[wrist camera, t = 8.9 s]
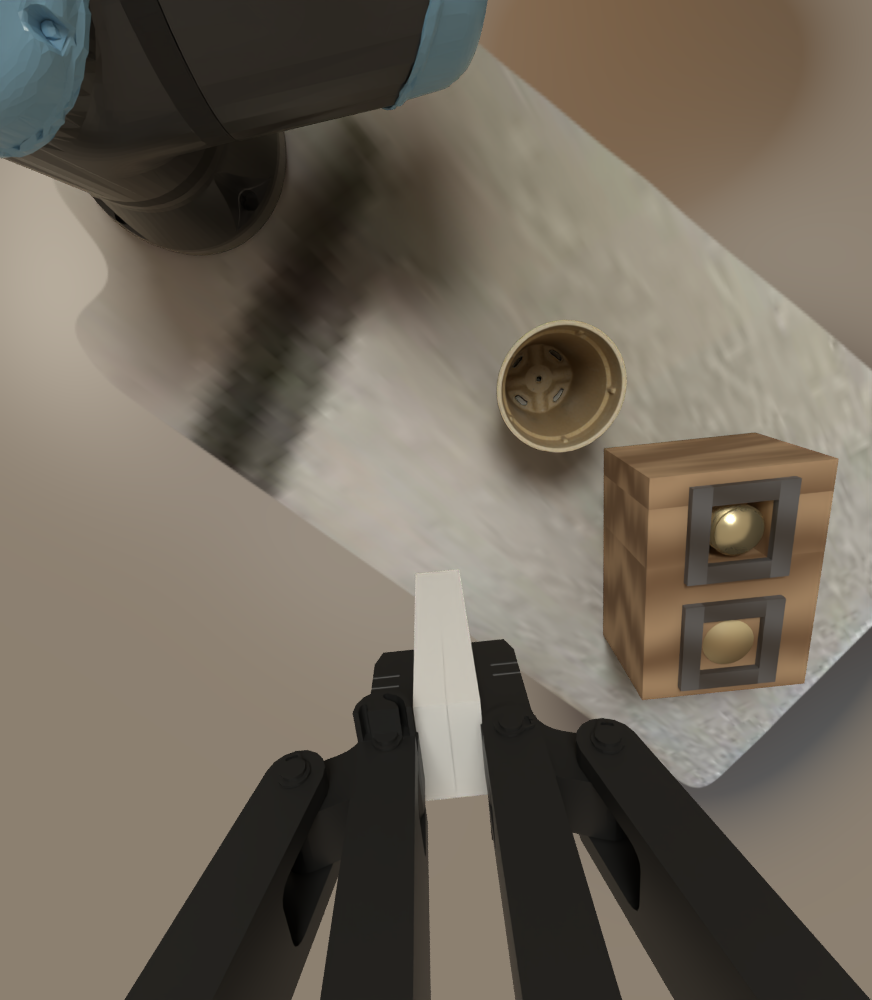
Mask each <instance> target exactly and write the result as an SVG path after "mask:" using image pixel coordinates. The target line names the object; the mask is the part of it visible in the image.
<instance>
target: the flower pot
mask: <svg viewBox="0 0 872 1000" xmlns="http://www.w3.org/2000/svg"><path fill="white" fill-rule="evenodd" d="M550 350H555V351H557V352H558V353H559V354H560V355H561V358H562V359H561V360H559V359H557V358H556V357H555V356H554V355H552V354H551V353H550ZM519 357H522V359H521V360H520V362H519V363H520V364H517V365H516V367H513V365H514V363H515V362H516V361H517V359H518V358H519ZM538 376H540V377H541V381H537V377H538ZM626 380H627V377H626V369H625V365H624V360H623V358H622V356H621V354H620V352H619V350H618V348H617V346H616V345H615V344H614V342H613V341H612V340H611V339H610V338H609V337H608V336H607V335H606V334H604V333H603V332H602V331H600V330H599V329H597V328H595V327H593V326H591V325H589V324H586V323H584V322H579V321H573V320H558V321H552V322H548V323H545V324H543V325H540V326H538V327H536V328H534V329H532V330H531V331H529V332H528V333H526V334H525V335H524V336H522V337H521V338H520V339H519V340H518V341H517V342H516V343H515V344H514V346H513V347H512V348H511V349H510V351H509V352H508V354H507V355H506V357H505V359H504V361H503V363H502V366H501V369H500V372H499V375H498V381H497V401H498V406H499V410H500V413H501V415H502V417H503V420H504V422H505V423H506V425H507V427H508V428H509V429H510V431H511V432H512V433H513V434H514V435H515V436H516V437H517V438H518V439H519V440H521V441H522V442H523V443H525V444H527V445H529V446H530V447H533V448H535V449H538V450H542V451H547V452H558V453H560V452H568V451H573V450H576V449H579V448H581V447H584V446H586V445H588V444H590V443H591V442H593V441H594V440H596V439H597V438H598V437H600V436H601V435H602V434H603V433H604V432H605V431H606V430H607V429H608V428H609V427H610V425H611V424H612V423H613V421H614V420H615V418H616V417H617V415H618V413H619V411H620V409H621V407H622V404H623V401H624V398H625V392H626V385H627V381H626ZM560 389H563V391H562V394H561V395H560V397H559V398H558V400H557V401H553V397H554V396H555V395H557V393H558V392H559V390H560ZM517 395H520V396H521V397H522V398H523V399H524V400H526V401H527V404H526V405H521V404H520V403H519V402H518V400H516V398H515V397H516V396H517Z"/></svg>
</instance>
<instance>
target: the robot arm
mask: <svg viewBox="0 0 872 1000" xmlns="http://www.w3.org/2000/svg"><path fill="white" fill-rule="evenodd" d="M487 1H488V0H0V158H4V159H6V160H9V161H12V162H14V163H16V164H19V165H21V166H24V167H26V168H29V169H31V170H34V171H36V172H39V173H41V174H44V175H46V176H49V177H51V178H54V179H56V180H59V181H61V182H64V183H66V184H69V185H71V186H74V187H76V188H79V189H81V190H84V191H86V192H89V194H90V195H91V196H92V197H93V198H94V199H95V200H96V202H97V203H98V204H99V205H100V206H101V207H102V208H103V210H104V211H105V212H106V213H107V214H108V215H109V216H110V217H111V218H112V219H114V220H115V221H116V222H117V223H118V224H119V225H121V226H122V227H123V228H125V229H126V230H128V231H129V232H131V233H132V234H134V235H135V236H137V237H139V238H140V239H142V240H144V241H146V242H148V243H151V244H153V245H156V246H159V247H162V248H165V249H168V250H171V251H174V252H178V253H183V254H189V255H210V254H217V253H221V252H224V251H227V250H230V249H232V248H235V247H237V246H239V245H241V244H242V243H244V242H245V241H247V240H248V239H249V238H251V237H252V236H253V235H254V234H255V233H256V232H258V231H259V229H260V228H261V227H262V226H263V225H264V224H265V222H266V221H267V220H268V218H269V217H270V215H271V213H272V212H273V210H274V208H275V206H276V203H277V201H278V199H279V196H280V193H281V190H282V186H283V181H284V176H285V167H286V147H285V138H284V132H283V131H286V130H290V129H294V128H298V127H303V126H307V125H311V124H315V123H320V122H324V121H328V120H332V119H337V118H341V117H345V116H349V115H354V114H358V113H362V112H367V111H371V110H375V109H379V108H382V109H385V110H393V109H395V108H396V107H397V106H401V105H402V104H403V103H404V102H405V101H406V100H409V99H412V98H416V97H419V96H422V95H426V94H429V93H432V92H436V91H439V90H442V89H445V88H447V87H449V86H450V85H451V84H452V83H453V82H455V81H456V80H458V79H459V77H460V76H461V75H462V74H463V73H464V72H465V71H466V69H467V68H468V66H469V64H470V62H471V60H472V58H473V56H474V54H475V51H476V48H477V45H478V42H479V39H480V35H481V31H482V27H483V22H484V18H485V13H486V6H487ZM414 632H415V633H414V634H415V635H414V650H406V651H397V652H387V653H383V654H382V656H381V657H380V658H379V660H378V661H377V663H376V664H375V667H374V675H373V682H372V690H371V694H370V695H368V696H366V697H364V698H363V699H362V700H361V701H360V702H359V703H357V705H356V706H355V709H354V711H353V717H354V722H355V728H356V733H357V738H358V743H357V744H356V745H355V746H354V747H353V748H351V749H350V750H348V751H347V752H345V753H343V754H340V755H338V756H336V757H333V758H330V759H327V760H325V761H323V758H321V756H320V755H318V754H317V753H315V752H312V751H308V750H304V751H295V752H293V753H290V754H287V755H285V756H283V757H282V758H280V759H278V760H277V761H276V762H274V763H273V765H272V766H271V767H270V768H269V769H268V770H267V772H266V773H265V775H264V776H263V778H262V780H261V781H260V783H259V785H258V786H257V788H256V789H255V791H254V793H253V794H252V796H251V797H250V799H249V801H248V802H247V804H246V805H245V807H244V809H243V810H242V812H241V813H240V815H239V817H238V818H237V820H236V821H235V823H234V825H233V826H232V828H231V830H230V831H229V833H228V834H227V836H226V838H225V839H224V841H223V842H222V844H221V846H220V847H219V849H218V850H217V852H216V854H215V855H214V857H213V858H212V860H211V862H210V863H209V865H208V867H207V868H206V870H205V871H204V873H203V874H202V876H201V878H200V879H199V881H198V882H197V884H196V886H195V887H194V889H193V891H192V892H191V894H190V895H189V897H188V899H187V900H186V902H185V903H184V905H183V907H182V908H181V910H180V911H179V913H178V915H177V916H176V918H175V919H174V921H173V923H172V925H171V926H170V927H169V929H168V931H167V932H166V934H165V936H164V937H163V939H162V941H161V942H160V944H159V945H158V947H157V949H156V950H155V952H154V953H153V955H152V957H151V958H150V960H149V961H148V963H147V964H146V966H145V968H144V970H143V971H142V972H141V974H140V976H139V977H138V979H137V981H136V982H135V984H134V985H133V987H132V989H131V990H130V992H129V993H128V995H127V997H126V998H125V1000H291V999H292V996H293V994H294V991H295V988H296V986H297V983H298V980H299V978H300V975H301V972H302V970H303V967H304V964H305V962H306V959H307V956H308V954H309V951H310V949H311V946H312V943H313V941H314V938H315V936H316V933H317V930H318V928H319V925H320V922H321V920H322V917H323V915H324V912H325V909H326V906H327V904H328V901H329V898H330V896H331V893H332V891H333V888H334V886H335V883H336V880H337V878H338V882H337V890H336V896H335V903H334V910H333V916H332V923H331V930H330V937H329V943H328V951H327V957H326V964H325V972H324V977H323V984H322V991H321V998H320V1000H431V990H430V936H429V935H430V932H429V875H428V821H427V814H426V808H425V797H426V801H428V800H438V799H447V798H457V797H468V796H478V795H487V794H488V798H489V811H490V822H491V833H492V840H493V841H494V848H495V855H496V863H497V870H498V877H499V884H500V892H501V899H502V906H503V912H504V920H505V927H506V934H507V942H508V949H509V956H510V963H511V971H512V978H513V985H514V992H515V999H516V1000H622V998H621V995H620V991H619V988H618V985H617V982H616V978H615V975H614V971H613V968H612V965H611V961H610V958H609V955H608V951H607V948H606V945H605V941H604V938H603V935H602V931H601V928H600V924H599V921H598V918H597V914H596V911H595V908H594V904H593V901H592V898H591V894H590V891H589V887H588V884H587V881H586V877H585V874H584V871H583V867H582V864H581V860H580V857H579V854H578V850H577V847H576V844H575V840H574V837H573V833H577V834H579V835H580V838H581V841H582V842H583V844H584V846H585V848H586V849H587V851H588V853H589V854H590V856H591V858H592V860H593V861H594V863H595V865H596V866H597V868H598V870H599V872H600V873H601V875H602V877H603V878H604V880H605V881H606V883H607V885H608V887H609V889H610V890H611V892H612V894H613V895H614V897H615V899H616V901H617V902H618V904H619V906H620V907H621V909H622V911H623V912H624V914H625V916H626V918H627V919H628V921H629V923H630V925H631V926H632V928H633V930H634V931H635V933H636V935H637V937H638V938H639V940H640V942H641V943H642V945H643V947H644V949H645V950H646V952H647V954H648V955H649V957H650V959H651V961H652V962H653V964H654V965H655V967H656V969H657V971H658V973H659V974H660V976H661V978H662V979H663V981H664V983H665V985H666V986H667V988H668V990H669V991H670V993H671V995H672V996H673V998H674V1000H870V999H869V997H868V996H867V995H866V994H865V993H864V992H863V991H862V990H861V988H860V987H859V986H858V985H857V984H856V983H855V982H854V981H853V979H852V978H851V977H850V976H849V975H848V974H847V973H846V971H845V970H844V969H843V968H842V967H841V966H840V965H839V963H838V962H837V961H836V960H835V959H834V958H833V957H832V956H831V954H830V953H829V952H828V951H827V950H826V949H825V948H824V946H823V945H821V943H820V942H819V941H818V940H817V939H816V938H815V936H814V935H813V934H812V933H811V932H810V931H809V929H808V928H807V927H806V926H805V925H804V924H803V923H802V922H801V920H800V919H799V918H798V917H797V916H796V915H795V914H794V912H793V911H792V910H791V909H790V908H789V907H788V906H787V905H786V903H785V902H784V901H783V900H782V899H781V898H780V897H779V895H778V894H777V893H776V892H775V891H774V890H773V889H772V888H771V886H770V885H769V884H768V883H767V882H766V881H765V880H764V878H763V877H762V876H761V875H760V874H759V873H758V872H757V871H756V869H755V868H754V867H753V866H752V865H751V864H750V863H749V862H748V860H747V859H746V858H745V857H744V856H743V855H742V854H741V852H740V851H739V850H738V849H737V848H736V847H735V846H734V845H733V844H732V842H731V841H730V840H729V839H728V838H727V837H726V835H725V834H724V833H723V832H722V831H721V830H720V829H719V827H718V826H717V825H716V824H715V823H714V822H713V821H712V820H711V818H710V817H709V816H708V815H707V814H706V813H705V812H704V810H703V809H702V808H701V807H700V806H699V805H698V804H697V802H696V801H695V800H694V799H693V798H692V797H691V796H690V795H689V793H688V792H687V791H686V790H685V789H684V788H683V787H682V785H681V784H680V783H679V782H678V781H677V780H676V779H675V778H674V776H673V775H672V774H671V773H670V772H669V771H668V770H667V768H666V767H665V766H664V765H663V764H662V763H661V762H660V761H659V759H658V758H657V757H656V756H655V755H654V754H653V753H652V751H651V750H650V749H649V748H648V747H647V746H646V745H645V744H644V742H643V741H642V740H641V739H640V738H639V737H638V736H637V734H636V733H635V732H634V731H632V730H631V729H630V728H629V727H628V726H626V725H625V724H622V723H620V722H618V721H615V720H611V719H604V718H600V719H592V720H589V721H588V722H585V723H584V724H582V725H581V726H580V728H579V729H578V730H577V733H572V732H566V731H561V730H556V729H553V728H551V727H548V726H546V725H544V724H543V723H542V722H540V721H539V720H538V719H537V718H536V716H535V715H534V714H533V712H532V710H531V707H530V704H529V700H528V697H527V693H526V690H525V687H524V683H523V680H522V676H521V673H520V669H519V666H518V663H517V659H516V655H515V652H514V649H513V648H512V647H511V646H510V645H509V644H508V643H507V642H506V641H505V640H504V639H501V640H491V641H481V642H472V643H471V640H470V634H469V628H468V622H467V615H466V609H465V603H464V597H463V590H462V584H461V578H460V572H459V569H456V570H446V571H437V572H427V573H418V574H416V581H415V631H414Z"/></svg>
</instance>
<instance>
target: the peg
mask: <svg viewBox="0 0 872 1000" xmlns="http://www.w3.org/2000/svg"><path fill="white" fill-rule="evenodd" d="M764 529H765V521H764V518H763V516H762V514H761V513H760V512H759V511H758V510H757V509H756V508H754V507H752V506H750V505H748V504H747V503H741V504H732V505H722V506H713V507H712V517H711V531H710V544H709V545H711V546H712V547H713V548H715V549H716V550H717V551H719V552H720V553H722V554H725V555H731V556H734V555H740V554H743V553H746V552H748V551H749V550H751V549H752V548H754V547H755V546H756V545H757V544H758V542H759V541H760V540H761V538H762V536H763V533H764Z"/></svg>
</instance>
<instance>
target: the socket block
mask: <svg viewBox="0 0 872 1000" xmlns="http://www.w3.org/2000/svg"><path fill="white" fill-rule="evenodd" d="M837 466H838V458H835V457H831V456H828V455H825V454H822V453H819V452H815V451H812V450H809V449H806V448H803V447H799V446H796V445H793V444H790V443H787V442H783V441H780V440H777V439H774V438H771V437H767V436H764V435H761V434H758V433H747V434H738V435H728V436H719V437H709V438H699V439H690V440H680V441H671V442H661V443H652V444H642V445H633V446H623V447H614V448H604V588H603V635H604V637H605V638H606V640H607V642H608V643H609V645H610V647H611V648H612V650H613V652H614V653H615V655H616V657H617V658H618V660H619V662H620V663H621V665H622V667H623V668H624V670H625V672H626V673H627V675H628V677H629V678H630V680H631V682H632V683H633V685H634V687H635V688H636V690H637V692H638V694H639V695H640V697H641V699H642V700H646V699H656V698H666V697H676V696H685V695H695V694H705V693H715V692H725V691H734V690H744V689H754V688H764V687H773V686H783V685H793V684H803V683H804V681H805V674H806V668H807V661H808V655H809V648H810V642H811V635H812V629H813V622H814V616H815V609H816V603H817V596H818V590H819V583H820V577H821V570H822V564H823V557H824V551H825V544H826V537H827V531H828V524H829V518H830V511H831V505H832V498H833V492H834V485H835V479H836V472H837ZM741 503H747V504H748V505H750V506H752V507H754V508H756V509H757V510H758V511H759V512H760V513H761V514H762V516H763V518H764V521H765V529H764V533H763V536H762V538H761V540H760V541H759V542H758V544H757V545H756V546H755V547H754V548H752V549H751V550H749V551H748V552H746V553H743V554H740V555H734V556H731V555H725V554H722V553H720V552H719V551H717V550H716V549H715V548H713V547H712V546H711V545H709V544H710V531H711V517H712V507H713V506H722V505H732V504H741Z"/></svg>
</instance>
